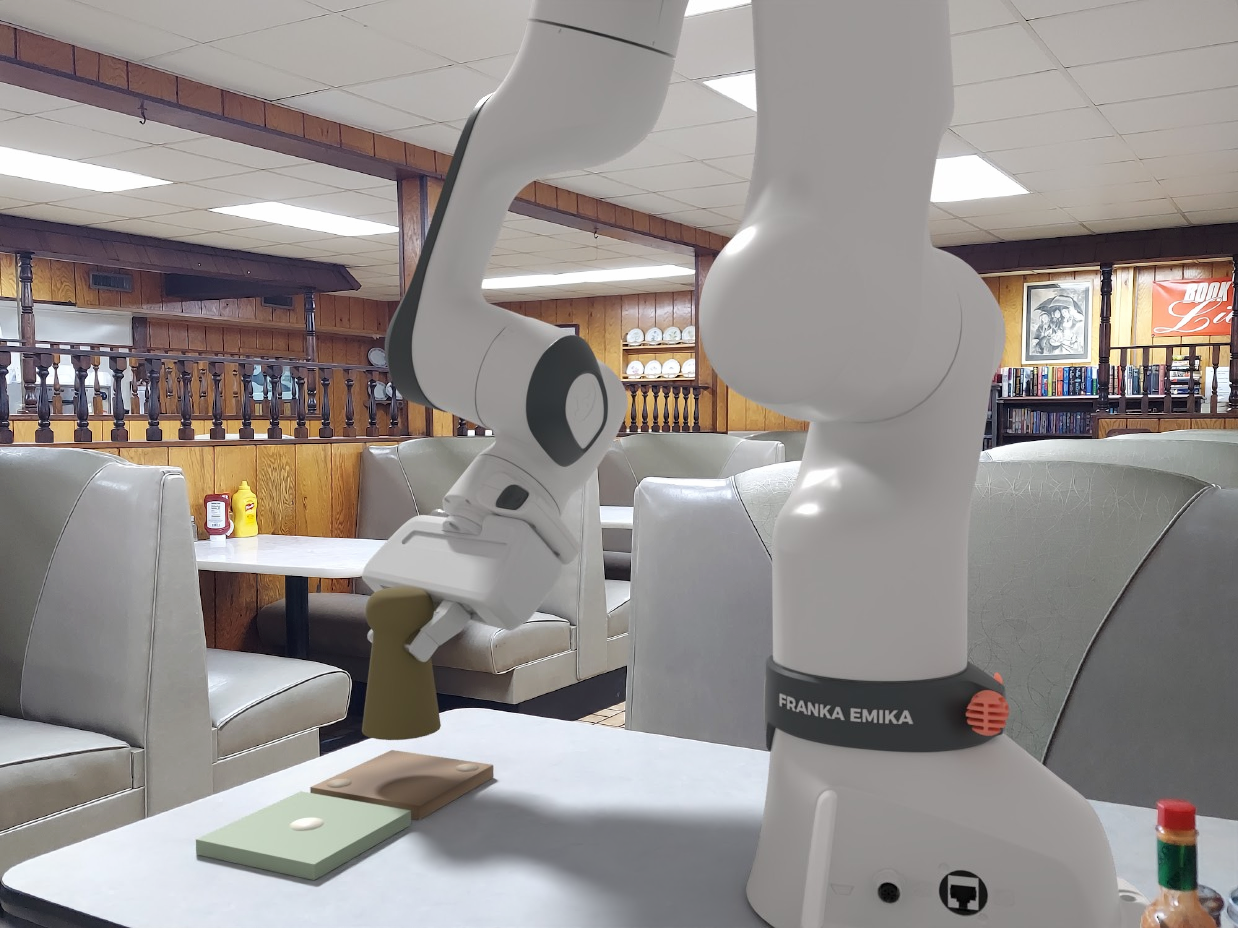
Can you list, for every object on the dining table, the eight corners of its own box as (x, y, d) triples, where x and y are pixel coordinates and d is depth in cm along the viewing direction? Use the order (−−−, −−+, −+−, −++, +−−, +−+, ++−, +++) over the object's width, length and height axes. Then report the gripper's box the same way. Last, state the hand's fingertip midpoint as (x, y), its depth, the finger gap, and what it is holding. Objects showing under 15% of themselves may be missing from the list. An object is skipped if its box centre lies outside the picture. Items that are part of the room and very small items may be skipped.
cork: (448, 718, 84) (447, 582, 84) (429, 740, 78) (428, 594, 78) (375, 716, 85) (373, 582, 84) (350, 739, 79) (348, 594, 78)
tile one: (411, 824, 74) (410, 809, 74) (314, 879, 65) (313, 863, 65) (301, 804, 78) (301, 790, 78) (196, 853, 69) (195, 838, 69)
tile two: (493, 776, 84) (493, 763, 84) (419, 819, 75) (419, 804, 75) (392, 761, 88) (392, 749, 88) (310, 799, 79) (310, 786, 79)
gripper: (407, 485, 93) (306, 607, 87) (550, 496, 78) (439, 645, 72) (450, 531, 96) (355, 652, 90) (595, 551, 81) (493, 698, 75)
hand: (394, 650), depth 81 cm, fingers closed on cork, 4 cm apart
